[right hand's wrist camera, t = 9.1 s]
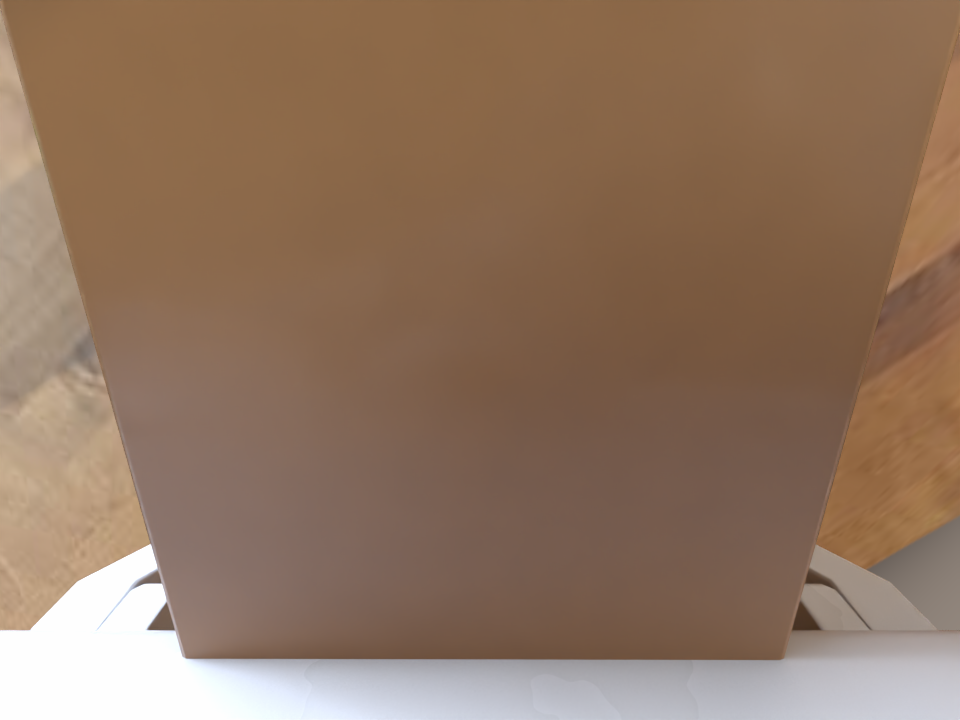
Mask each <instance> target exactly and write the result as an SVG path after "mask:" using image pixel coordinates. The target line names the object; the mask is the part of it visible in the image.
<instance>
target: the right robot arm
mask: <svg viewBox="0 0 960 720" xmlns="http://www.w3.org/2000/svg"><path fill="white" fill-rule="evenodd" d="M0 720H960V631H938V630H937V629H936V628H935V627H934V626H933V625H932V624H931V623H930V622H929V621H928V620H927V619H926V618H925V617H924V616H923V615H922V614H921V613H920V612H919V611H918V610H917V609H916V608H915V607H914V606H913V605H912V604H911V603H910V602H909V601H908V600H907V599H906V598H905V597H904V596H903V595H902V594H901V593H900V592H899V591H898V590H897V589H896V588H895V587H894V586H893V585H892V584H891V583H890V582H889V581H887V580H885V579H883V578H881V577H879V576H877V575H875V574H873V573H871V572H869V571H867V570H865V569H863V568H861V567H859V566H857V565H855V564H853V563H851V562H849V561H847V560H845V559H843V558H841V557H839V556H837V555H835V554H834V553H832V552H830V551H828V550H826V549H824V548H822V547H820V546H818V545H815V549H814V552H813V556H812V559H811V563H810V567H809V570H808V574H807V577H806V581H805V585H804V588H803V592H802V595H801V599H800V602H799V606H798V610H797V613H796V617H795V620H794V624H793V627H792V631H791V635H790V638H789V642H788V645H787V649H786V652H785V656H784V659H781V660H519V659H186V658H184V657H182V653H181V650H180V646H179V643H178V639H177V636H176V632H175V629H174V625H173V621H172V618H171V614H170V611H169V607H168V604H167V600H166V597H165V593H164V589H163V586H162V582H161V579H160V575H159V572H158V568H157V565H156V561H155V557H154V554H153V550H152V547H151V544H150V545H148V546H146V547H144V548H142V549H141V550H139V551H137V552H135V553H133V554H131V555H129V556H127V557H125V558H123V559H121V560H119V561H117V562H115V563H113V564H111V565H109V566H107V567H105V568H103V569H101V570H99V571H97V572H95V573H94V574H92V575H90V576H88V577H86V578H84V579H82V580H80V581H78V582H77V583H76V584H75V585H74V586H73V587H72V588H71V589H70V590H69V591H68V592H67V593H66V594H65V595H64V596H63V597H62V598H61V599H60V600H59V601H58V602H57V603H56V604H55V605H54V606H53V607H52V608H51V609H50V610H49V611H48V612H47V613H46V614H45V615H44V616H43V617H42V618H41V619H40V620H39V622H38V623H37V624H36V625H35V626H34V627H33V628H32V629H31V630H0Z"/></svg>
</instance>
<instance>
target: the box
mask: <svg viewBox="0 0 960 720" xmlns="http://www.w3.org/2000/svg"><path fill="white" fill-rule="evenodd" d="M0 10H1V13H2V17H3V20H4V24H5V28H6V31H7V35H8V38H9V42H10V45H11V49H12V52H13V56H14V60H15V63H16V67H17V70H18V74H19V77H20V81H21V84H22V88H23V92H24V95H25V99H26V102H27V106H28V109H29V113H30V116H31V120H32V124H33V127H34V131H35V134H36V138H37V141H38V145H39V148H40V152H41V156H42V159H43V163H44V166H45V170H46V173H47V177H48V180H49V184H50V188H51V191H52V195H53V198H54V202H55V205H56V209H57V212H58V216H59V220H60V223H61V227H62V230H63V234H64V237H65V241H66V244H67V248H68V252H69V255H70V259H71V262H72V266H73V269H74V273H75V276H76V280H77V284H78V287H79V291H80V294H81V298H82V301H83V305H84V309H85V312H86V316H87V319H88V323H89V326H90V330H91V333H92V337H93V341H94V344H95V348H96V351H97V355H98V358H99V362H100V365H101V369H102V373H103V376H104V380H105V383H106V387H107V390H108V394H109V397H110V401H111V405H112V408H113V412H114V415H115V419H116V422H117V426H118V429H119V433H120V437H121V440H122V444H123V447H124V451H125V454H126V458H127V461H128V465H129V469H130V472H131V476H132V479H133V483H134V486H135V490H136V493H137V497H138V501H139V504H140V508H141V511H142V515H143V518H144V522H145V525H146V529H147V533H148V536H149V540H150V543H151V547H152V550H153V554H154V557H155V561H156V565H157V568H158V572H159V575H160V579H161V582H162V586H163V589H164V593H165V597H166V600H167V604H168V607H169V611H170V614H171V618H172V621H173V625H174V629H175V632H176V636H177V639H178V643H179V646H180V650H181V653H182V657H184V658H186V659H519V660H781V659H784V656H785V652H786V649H787V645H788V642H789V638H790V635H791V631H792V627H793V624H794V620H795V617H796V613H797V610H798V606H799V602H800V599H801V595H802V592H803V588H804V585H805V581H806V577H807V574H808V570H809V567H810V563H811V559H812V556H813V552H814V549H815V545H816V542H817V538H818V534H819V531H820V527H821V524H822V520H823V517H824V513H825V509H826V506H827V502H828V499H829V495H830V492H831V488H832V484H833V481H834V477H835V474H836V470H837V467H838V463H839V459H840V456H841V452H842V449H843V445H844V442H845V438H846V434H847V431H848V427H849V424H850V420H851V417H852V413H853V409H854V406H855V402H856V399H857V395H858V392H859V388H860V384H861V381H862V377H863V374H864V370H865V367H866V363H867V359H868V356H869V352H870V349H871V345H872V342H873V338H874V334H875V331H876V327H877V324H878V320H879V316H880V313H881V309H882V306H883V302H884V299H885V295H886V291H887V288H888V284H889V281H890V277H891V274H892V270H893V266H894V263H895V259H896V256H897V252H898V249H899V245H900V241H901V238H902V234H903V231H904V227H905V224H906V220H907V216H908V213H909V209H910V206H911V202H912V199H913V195H914V191H915V188H916V184H917V181H918V177H919V174H920V170H921V166H922V163H923V159H924V156H925V152H926V149H927V145H928V141H929V138H930V134H931V131H932V127H933V124H934V120H935V116H936V113H937V109H938V106H939V102H940V99H941V95H942V91H943V88H944V84H945V81H946V77H947V74H948V70H949V66H950V63H951V59H952V56H953V52H954V48H955V45H956V41H957V38H958V34H959V31H960V0H0Z"/></svg>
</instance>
